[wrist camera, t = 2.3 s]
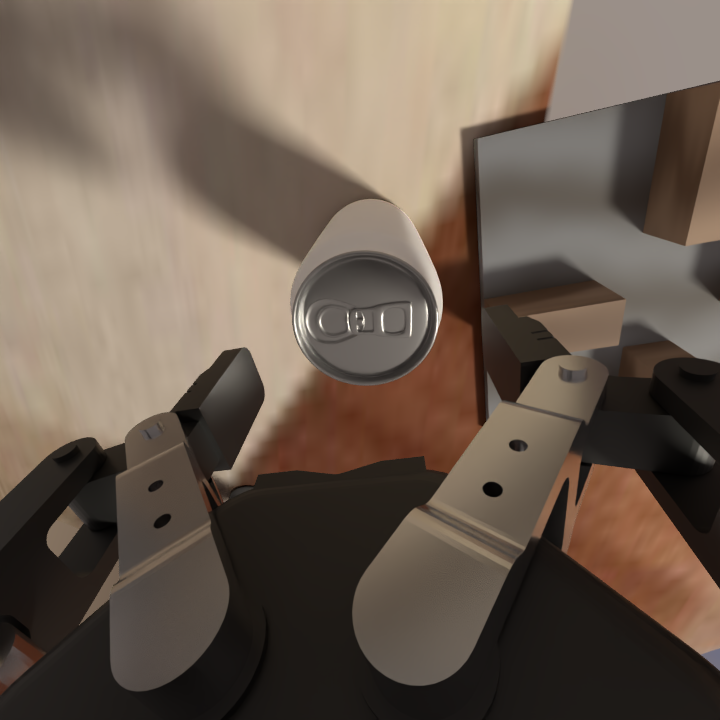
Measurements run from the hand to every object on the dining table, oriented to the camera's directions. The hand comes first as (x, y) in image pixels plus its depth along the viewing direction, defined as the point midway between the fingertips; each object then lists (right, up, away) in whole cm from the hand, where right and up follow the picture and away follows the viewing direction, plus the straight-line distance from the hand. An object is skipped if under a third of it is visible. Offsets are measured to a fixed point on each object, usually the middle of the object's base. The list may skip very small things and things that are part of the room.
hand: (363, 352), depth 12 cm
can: (+1, +7, +12) cm, 14 cm away
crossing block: (+19, +5, +12) cm, 23 cm away
